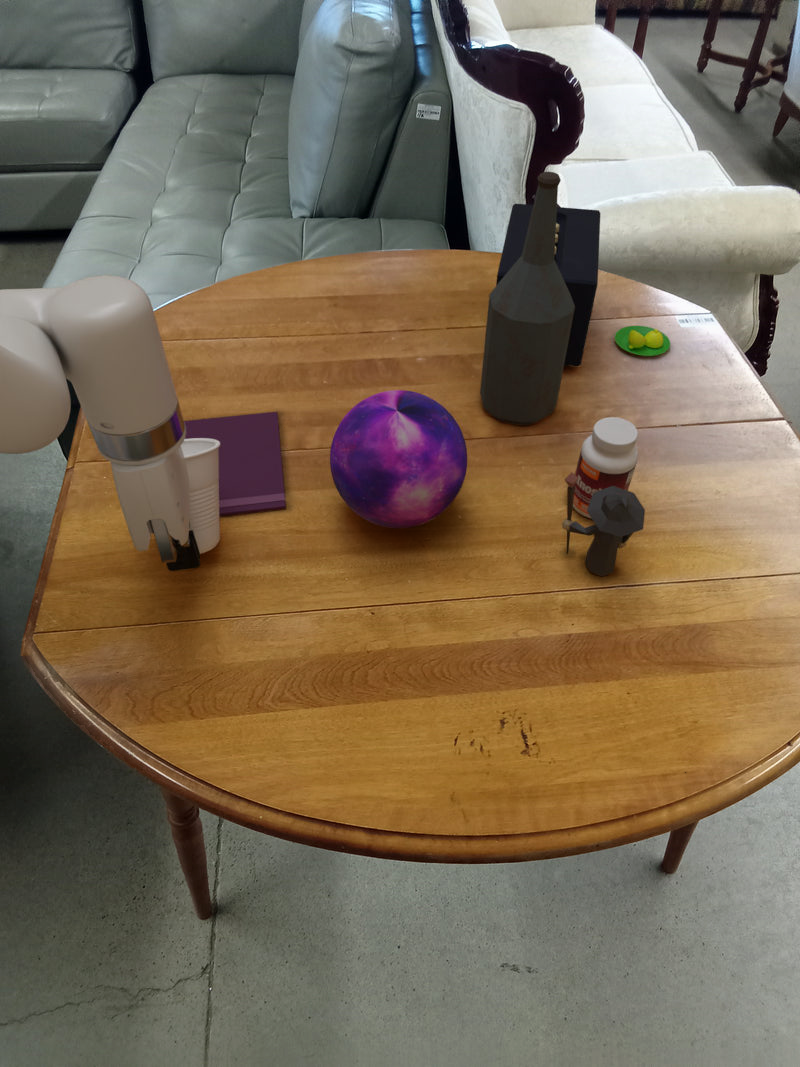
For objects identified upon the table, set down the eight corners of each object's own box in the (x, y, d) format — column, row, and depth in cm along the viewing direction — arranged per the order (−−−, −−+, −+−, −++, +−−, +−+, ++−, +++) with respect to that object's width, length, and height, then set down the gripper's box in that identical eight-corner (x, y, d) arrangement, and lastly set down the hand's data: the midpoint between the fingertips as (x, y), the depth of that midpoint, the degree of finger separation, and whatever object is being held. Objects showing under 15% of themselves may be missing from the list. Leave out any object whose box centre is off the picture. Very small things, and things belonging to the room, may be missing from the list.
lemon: (645, 365, 108) (650, 348, 106) (602, 341, 112) (606, 324, 110) (680, 346, 111) (685, 329, 109) (637, 323, 115) (641, 306, 113)
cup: (250, 530, 86) (233, 435, 82) (217, 563, 77) (197, 458, 73) (169, 533, 87) (149, 440, 84) (127, 566, 78) (103, 464, 75)
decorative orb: (320, 546, 84) (309, 443, 73) (349, 458, 94) (343, 356, 83) (454, 564, 82) (463, 460, 71) (469, 472, 92) (478, 369, 81)
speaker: (503, 290, 122) (513, 197, 111) (583, 298, 120) (601, 204, 110) (487, 366, 108) (497, 267, 97) (578, 376, 106) (599, 277, 95)
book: (163, 523, 87) (162, 519, 86) (170, 425, 99) (169, 421, 98) (286, 509, 88) (285, 505, 88) (277, 414, 100) (277, 410, 100)
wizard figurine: (621, 545, 84) (646, 464, 75) (632, 584, 80) (660, 504, 72) (547, 545, 84) (564, 465, 75) (554, 584, 80) (573, 504, 72)
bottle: (559, 388, 104) (602, 161, 82) (550, 432, 98) (594, 198, 76) (486, 377, 106) (509, 152, 84) (472, 419, 99) (493, 187, 78)
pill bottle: (561, 511, 88) (578, 437, 80) (578, 479, 92) (595, 405, 84) (614, 529, 86) (636, 455, 78) (628, 495, 90) (651, 422, 82)
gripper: (101, 377, 69) (151, 517, 82) (83, 489, 59) (143, 627, 72) (184, 368, 70) (220, 508, 83) (180, 477, 60) (222, 616, 73)
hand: (184, 563), depth 78 cm, fingers closed
